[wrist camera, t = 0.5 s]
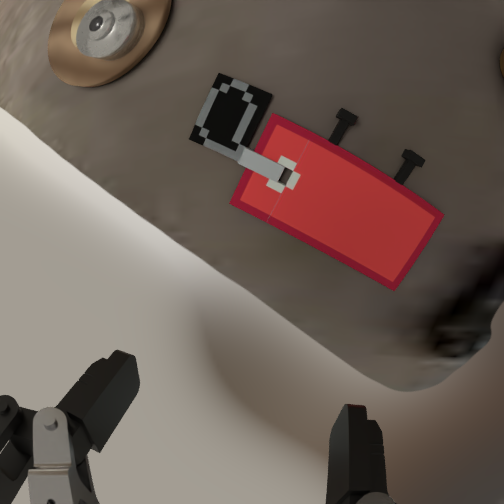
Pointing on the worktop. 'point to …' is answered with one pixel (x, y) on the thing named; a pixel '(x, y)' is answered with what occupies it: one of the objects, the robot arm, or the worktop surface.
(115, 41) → the cover
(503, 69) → the plant pot
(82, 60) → the turntable
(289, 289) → the worktop surface
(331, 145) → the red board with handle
